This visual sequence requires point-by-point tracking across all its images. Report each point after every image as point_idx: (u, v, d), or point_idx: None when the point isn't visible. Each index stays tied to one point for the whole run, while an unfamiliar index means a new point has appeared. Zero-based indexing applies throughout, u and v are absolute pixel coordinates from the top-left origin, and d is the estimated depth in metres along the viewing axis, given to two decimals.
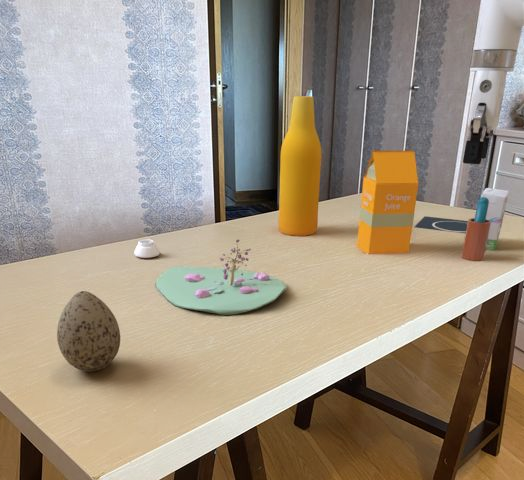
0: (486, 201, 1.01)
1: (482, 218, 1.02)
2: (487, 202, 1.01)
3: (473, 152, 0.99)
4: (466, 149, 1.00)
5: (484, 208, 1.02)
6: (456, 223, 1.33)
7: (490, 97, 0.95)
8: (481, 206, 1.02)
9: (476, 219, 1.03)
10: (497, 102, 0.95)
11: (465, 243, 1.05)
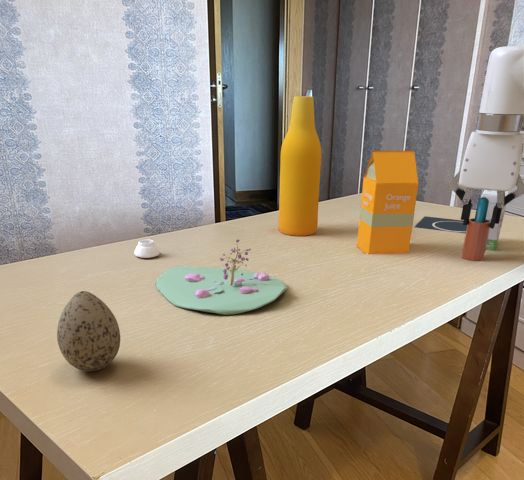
0: (486, 201, 1.01)
1: (482, 218, 1.02)
2: (487, 202, 1.01)
3: None
4: (496, 215, 1.01)
5: (484, 208, 1.02)
6: (456, 223, 1.33)
7: (521, 159, 0.97)
8: (481, 206, 1.02)
9: (476, 219, 1.03)
10: None
11: (465, 243, 1.05)
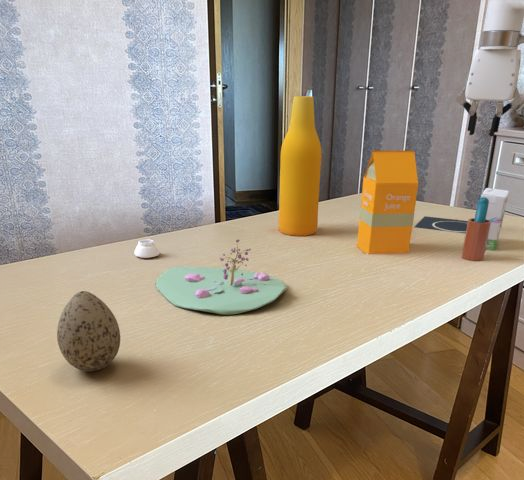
0: (486, 201, 1.01)
1: (482, 218, 1.02)
2: (487, 202, 1.01)
3: (498, 125, 1.19)
4: (495, 124, 1.18)
5: (484, 208, 1.02)
6: (456, 223, 1.33)
7: (518, 73, 1.14)
8: (481, 206, 1.02)
9: (476, 219, 1.03)
10: None
11: (465, 243, 1.05)
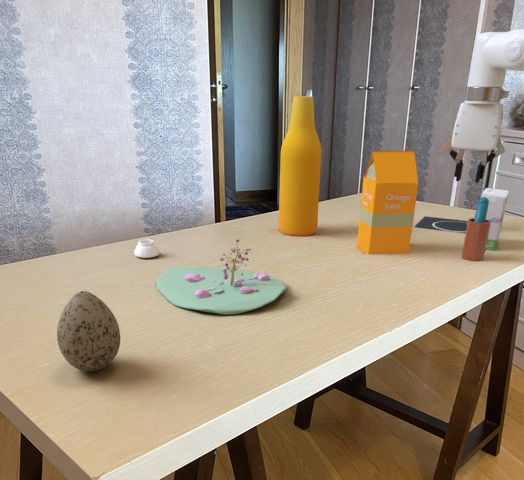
0: (486, 201, 1.01)
1: (482, 218, 1.02)
2: (487, 202, 1.01)
3: (483, 173, 1.25)
4: (480, 171, 1.24)
5: (484, 208, 1.02)
6: (456, 223, 1.33)
7: (501, 124, 1.20)
8: (481, 206, 1.02)
9: (476, 219, 1.03)
10: None
11: (465, 243, 1.05)
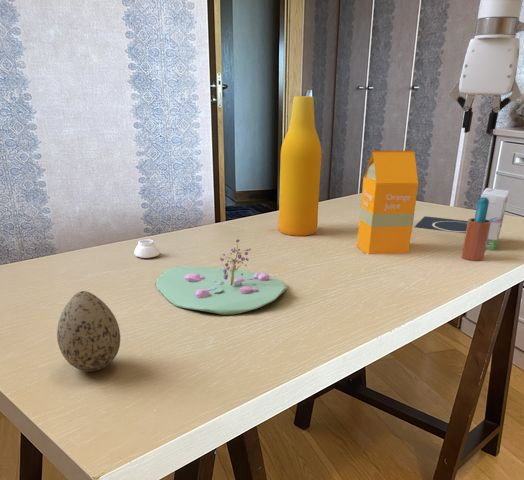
0: (486, 201, 1.01)
1: (482, 218, 1.02)
2: (487, 202, 1.01)
3: (496, 122, 1.08)
4: (492, 120, 1.07)
5: (484, 208, 1.02)
6: (456, 223, 1.33)
7: (517, 64, 1.04)
8: (481, 206, 1.02)
9: (476, 219, 1.03)
10: None
11: (465, 243, 1.05)
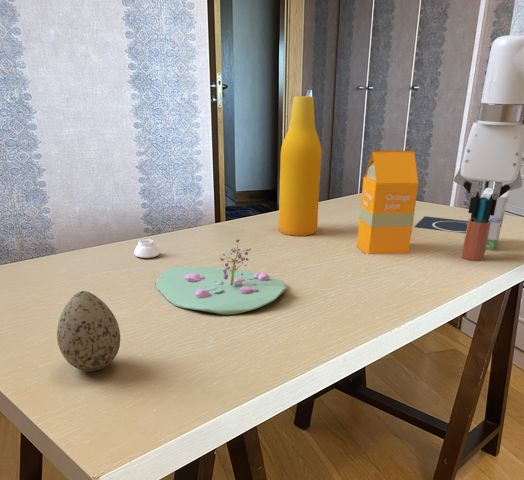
0: (486, 201, 1.01)
1: (482, 218, 1.02)
2: (487, 202, 1.01)
3: None
4: (491, 207, 1.01)
5: (484, 208, 1.02)
6: (456, 223, 1.33)
7: (523, 150, 0.97)
8: (480, 206, 1.02)
9: (476, 219, 1.03)
10: None
11: (465, 243, 1.05)
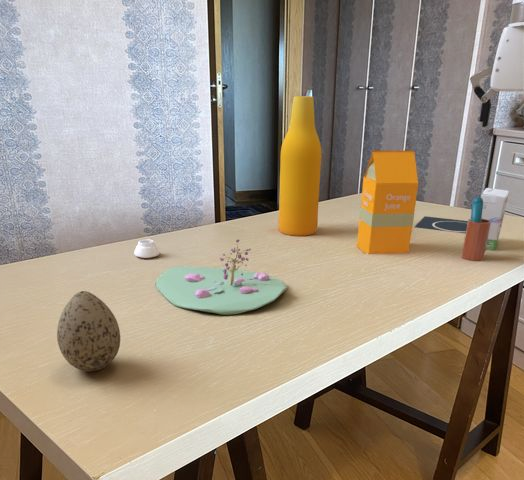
0: (480, 201, 1.01)
1: (478, 218, 1.03)
2: (481, 201, 1.02)
3: None
4: None
5: (479, 208, 1.02)
6: (456, 223, 1.33)
7: None
8: (475, 206, 1.02)
9: (472, 219, 1.03)
10: None
11: (465, 243, 1.05)
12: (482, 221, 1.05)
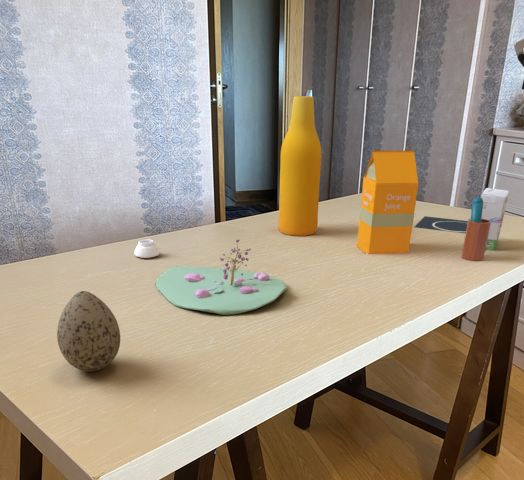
0: (480, 201, 1.01)
1: (478, 218, 1.03)
2: (481, 201, 1.02)
3: None
4: None
5: (479, 208, 1.02)
6: (456, 223, 1.33)
7: None
8: (475, 206, 1.02)
9: (472, 219, 1.03)
10: None
11: (465, 243, 1.05)
12: (482, 221, 1.05)
